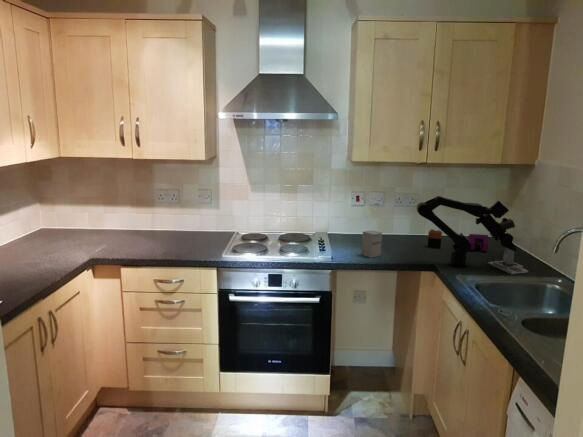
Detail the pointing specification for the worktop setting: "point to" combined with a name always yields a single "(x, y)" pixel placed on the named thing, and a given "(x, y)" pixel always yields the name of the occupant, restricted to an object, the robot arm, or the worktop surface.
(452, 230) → the robot arm
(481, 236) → the mounting bracket
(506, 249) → the grey rectangular block
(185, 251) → the worktop surface
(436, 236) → the battery
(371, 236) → the pinkish brown cylinder
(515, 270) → the grey tray
